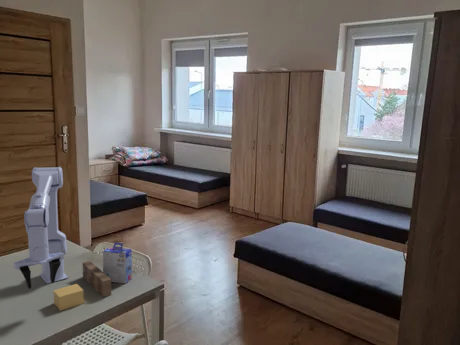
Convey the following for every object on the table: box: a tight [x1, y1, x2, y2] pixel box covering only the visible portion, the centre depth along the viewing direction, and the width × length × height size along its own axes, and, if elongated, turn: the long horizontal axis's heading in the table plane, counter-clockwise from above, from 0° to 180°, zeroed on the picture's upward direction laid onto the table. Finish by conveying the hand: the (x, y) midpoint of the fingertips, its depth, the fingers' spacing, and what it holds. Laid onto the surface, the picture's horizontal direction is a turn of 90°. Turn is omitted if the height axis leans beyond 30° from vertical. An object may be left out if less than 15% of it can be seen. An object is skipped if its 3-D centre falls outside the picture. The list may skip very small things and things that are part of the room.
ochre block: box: [53, 283, 85, 311], centre depth 138 cm, size 6×8×5 cm
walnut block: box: [82, 260, 112, 298], centre depth 152 cm, size 20×3×6 cm, turn 40°
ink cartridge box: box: [102, 242, 133, 284], centre depth 156 cm, size 10×6×14 cm, turn 78°
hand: (41, 284), depth 132 cm, fingers open, 6 cm apart
